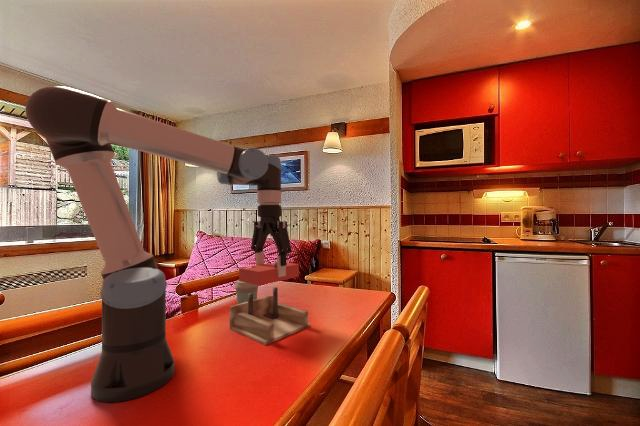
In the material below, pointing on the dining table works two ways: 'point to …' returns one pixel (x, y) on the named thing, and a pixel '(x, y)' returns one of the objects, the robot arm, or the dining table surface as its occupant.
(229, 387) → the dining table surface
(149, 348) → the robot arm
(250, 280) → the red rectangular block
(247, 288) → the coffee cup
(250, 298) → the carcass
